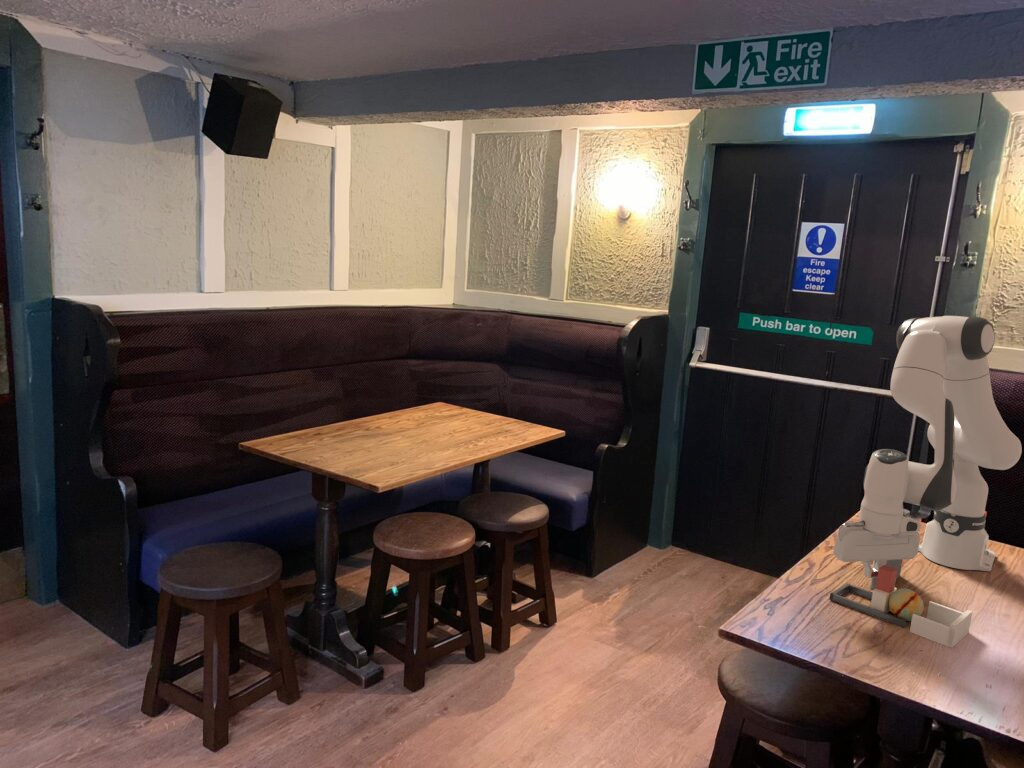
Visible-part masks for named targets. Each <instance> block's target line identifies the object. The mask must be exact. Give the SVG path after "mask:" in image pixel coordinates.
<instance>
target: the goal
mask: <svg viewBox="0 0 1024 768" xmlns="http://www.w3.org/2000/svg"><path fill="white" fill-rule="evenodd" d="M927 608H928V609H927V615H926V617H924V616H922V615H920V616H918V615H916V614H913V615H912V621H910V629H909V632H910V633H912V634H915V635H917V636H920V637H922V638H925V639H927V640H930V641H933V642H935V643H938V644H940V645H943V646H946V647H948V648H951V649H953V648H954V647H955V646H956V645H957V644H958V643H959V642H960V641H961V640H963V638H964V637H966V636H967V635H968V634H969V632H970V627H971V621H972V616H973V611H972V610H970V609H966V610H965V611H964V612H963V611H960V610H958V609H954V608H952V607H948V606H945V605H943V604H940V603H938V602H933V601H931V600H930V601H929V602H928V607H927Z"/></svg>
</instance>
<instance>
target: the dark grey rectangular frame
mask: <svg viewBox="0 0 1024 768" xmlns="http://www.w3.org/2000/svg"><path fill="white" fill-rule="evenodd" d="M848 592H850V593H852V594H855V595H858V596H861V597H863V598H866V599H869V600H871V599H872V594H873V591H869V590H867V589H864V588H862V587H859V586H856V585H853V584H850V583H845V584H843V585H841V586H840V587H838V588H837V589H835V590H834V591H832V592H830V594H829V601H833V602H835V603H838V604H840V605H843V606H846V607H848V608H851V609H854V610H856V611H858V610H859V612H861V613H864V614H866V613H867V615H869V614H870V615H869V616H871V615H873V616H872V617H874V616H875V617H874V618H877V619H879V618H880V620H882V619H883V620H882V621H885V622H887V621H888V623H890V624H892V623H893V625H895V624H896V625H895V626H897V627H900V626H901V627H900V628H902V629H905V628H906V625H907V621H906V620H903V619H901V618H898V617H896V616H895V615H894V614H893V615H892V614H890V613H888V612H887V613H885V612H882V611H879V610H877V609H874V608H871V606H868V605H866V604H863V603H860V602H858V601H855V600H853V599H851V598H847V597H845V596H843V595H844V594H846V593H848Z"/></svg>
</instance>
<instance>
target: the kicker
mask: <svg viewBox="0 0 1024 768" xmlns="http://www.w3.org/2000/svg"><path fill="white" fill-rule="evenodd" d="M897 570H898V569H895V568H892V567H889V566H886V565H883V566H882V567H880V568H879V571H878V577H877V584H876V589H874V590H873V591H872V592H873V594H872V600H871V599H870V600H871V601H870V607H871V608H874V609H877V610H879V611H882V612H885V613H887V614H888V612H891V610H890V608H889V598H890V596H891V594H892V593H893V592H894V591H896V590H898V588H897V587H896V583H897V582H896V580H897V578H896V576H897Z"/></svg>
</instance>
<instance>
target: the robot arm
mask: <svg viewBox="0 0 1024 768" xmlns="http://www.w3.org/2000/svg"><path fill="white" fill-rule="evenodd" d="M995 336H996V333H995V329H994V326H993V325H992V323H991V321H989V320H988V319H986V318H984V317H979V316H974V315H972V316H971V315H970V316H961V315H960V316H959V315H943V316H929V317H922V318H921V317H914V318H909V319H905V320H904V321H903V323H902V324H901V325H899V327H898V328H897V331H896V337H895V338H896V339H895V340H896V347H897V349H898V353H897V356H896V359H895V362H894V365H893V369H892V373H891V378H890V386H889V387H890V393H891V396H892V398H893V399H894V401H895V402H896V403H897V404H898V405H899V406H901V408H903V409H904V410H906V411H908V412H910V413H911V414H914V415H915V416H917V417H918V418H921V419H923V420H924V421H925V422H927V423H929V425H928V428H927V433H926V434H927V439H928V442H929V443H930V445H931V446H932V448H933V449H934V462H933V463H932V464H924V463H920V462H915V461H909V457H908V456H907V454H905V453H904V452H902V451H900V450H896V449H890V448H882V449H881V448H880V449H878V450H874V451H873V452H872V454H871V456H870V459H869V463H868V464H867V465H866V467H865V469H864V474H863V475H864V476H863V483H862V484H863V490H864V491H863V492H864V496H863V498H862V500H861V503H860V510H859V517H858V520H855V521H849V520H848V521H845V522H844V523H842V524H841V525H840V526H839V528H838V530H837V531H838V532H837V535H836V538H835V542H834V546H833V551H832V552H833V556H834V557H835V558H836V559H837V560H839V561H840V562H843V563H856V562H857V563H859V562H861V564H862V566H863V568H864V573H863V575H864V577H866V578H867V579H872V578H877V577H878V571H879V568H880V567H882V566H883V565H886V561H887V560H900V559H903V560H913V559H915V558H916V557H917V556H918V553H919V552H920V553H921V554H922V555H923V556H924V558H926V559H927V560H930V561H931V562H933V563H935V564H939V565H941V566H944V567H947V568H948V567H949V568H952V569H953V568H954V569H958V570H966V571H982V572H991V571H992V568H993V564H994V561H995V557H996V552H995V551H993V550H991V549H989V548H988V543H989V537H990V536H989V534H988V533H987V530H986V529H985V528H986V518H987V513H988V511H986V506H987V501H988V497H989V496H988V495H989V486H988V483H987V481H985V479H984V477H983V475H982V474H981V471H980V468H979V467H981V468H985V469H991V470H999V471H1005V470H1006V471H1007V470H1009V469H1011V468H1012V467H1014V466H1015V465H1016V464H1017V463H1018V462H1019V460H1020V458H1021V456H1022V453H1023V451H1022V450H1023V449H1022V443H1021V440H1020V439H1019V437H1017V436H1016V435H1015V433H1013V432H1012V431H1011V430H1010V428H1009V427H1008V426H1007V424H1006V422H1005V420H1003V418H1002V415H1001V413H1000V411H999V410H998V408H997V405H996V402H995V400H994V396H993V389H992V383H991V374H990V367H989V361H988V355H989V354H990V353H991V352H992V350H993V348H994V345H995V341H996V340H995V339H996V338H995ZM904 503H908V504H910V505H916V506H919V507H921V508H924V509H928V510H930V511H933V513H934V514H933V519H932V520H931V521H928V522H927V523H926V525H925V530H924V533H923V538H922V542H921V543H920V540H921V539H920V538H921V537H920V536H921V535H920V533H919V531H920V530H921V529H922V528H921V527H922V524H921V522H920V521H918V520H916V519H914V518H912V517H911V516H909V517H908V516H906V515H904V514H903V512H904V509H905V508H904ZM875 561H877V562H876V563H875V565H874V562H875ZM872 565H873V567H872Z"/></svg>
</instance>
